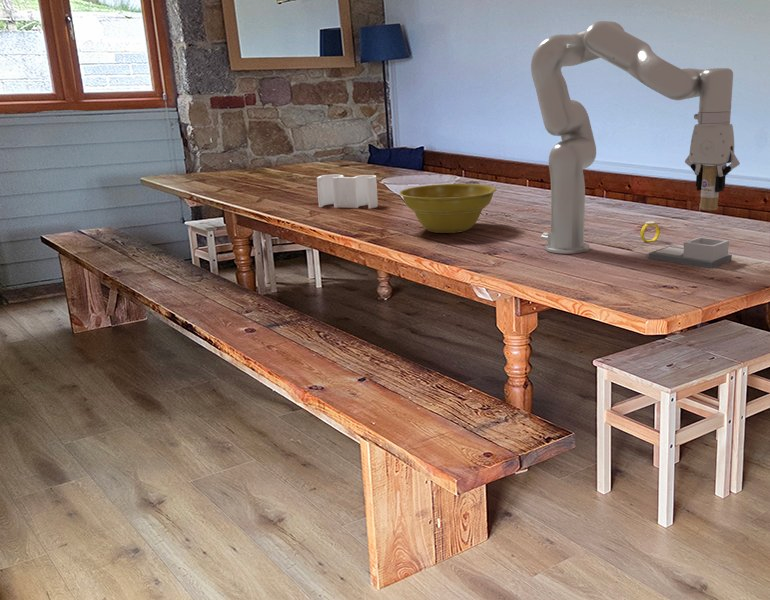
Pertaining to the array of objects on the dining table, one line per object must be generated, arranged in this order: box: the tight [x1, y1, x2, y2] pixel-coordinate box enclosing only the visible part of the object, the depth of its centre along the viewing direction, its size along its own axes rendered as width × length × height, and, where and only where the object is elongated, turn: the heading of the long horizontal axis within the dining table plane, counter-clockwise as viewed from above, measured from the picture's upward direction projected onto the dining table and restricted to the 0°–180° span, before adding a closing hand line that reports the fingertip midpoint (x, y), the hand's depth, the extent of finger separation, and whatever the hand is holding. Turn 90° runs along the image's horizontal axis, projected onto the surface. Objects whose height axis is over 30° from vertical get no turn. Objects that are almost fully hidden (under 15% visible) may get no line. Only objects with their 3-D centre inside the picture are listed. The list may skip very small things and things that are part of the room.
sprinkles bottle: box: [699, 164, 720, 212], centre depth 211 cm, size 5×5×14 cm
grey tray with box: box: [647, 236, 733, 269], centre depth 219 cm, size 18×11×6 cm, turn 42°
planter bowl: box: [398, 183, 497, 234], centre depth 272 cm, size 32×32×13 cm
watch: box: [639, 220, 661, 243], centre depth 242 cm, size 6×3×6 cm, turn 110°
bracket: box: [316, 173, 379, 209], centre depth 328 cm, size 25×10×12 cm, turn 65°
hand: (710, 189), depth 212 cm, fingers closed on sprinkles bottle, 4 cm apart
